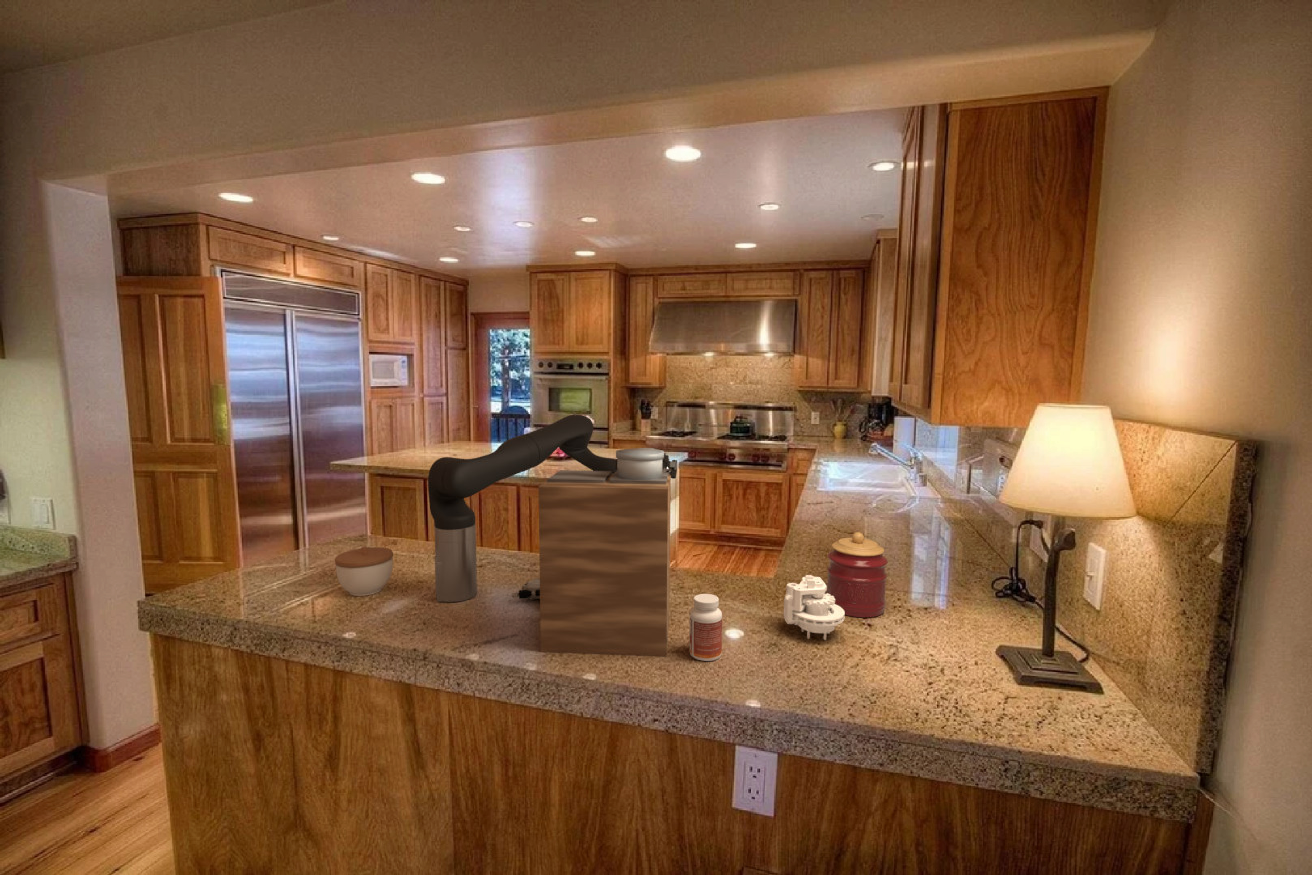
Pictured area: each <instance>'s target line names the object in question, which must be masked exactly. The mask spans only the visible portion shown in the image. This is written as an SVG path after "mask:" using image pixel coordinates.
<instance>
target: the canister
mask: <svg viewBox="0 0 1312 875" xmlns="http://www.w3.org/2000/svg"><path fill="white" fill-rule="evenodd" d="M831 548H832V550H831V551H829V552H828V553H827V559H829V565H828V566H827V583H826V585H827V590H826V592H825V594H827V593H828V594H830V595H831V596H833V597H834V598H835V603H834V604H836V605H838V606H840V607H841V608H842V609H843V610H844V612H845V615H844V616H848V617H853V618H874V617H878V616H881V615H883V614H884V612H885V608H886V603H887V602H886V587H887V586H886V584H887V577H888V576H887V574H888V573H887V572H886V565H888V563H889V561H888V558H886V557H885V556H884V555H883V554H884V553H885V549H884V548H883V547H882V546H881V545H879V544H878V543H877V542H876V541H874V540H871V539H869V538H865V536H864V534H863V533H862V532H857V531H856V532H854V533H853V534H852V536H851V537H842V538H840V539H838V540H837V541H835V542H833V543H832V544H831Z"/></svg>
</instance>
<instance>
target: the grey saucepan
mask: <svg viewBox="0 0 1312 875" xmlns="http://www.w3.org/2000/svg"><path fill="white" fill-rule="evenodd" d="M664 453H665V451H664V450H661V449H657V448H654V447H640V448H639V447H638V448H624V449H618V450H616V451H615V459H617V476H618V477H619V478H622V479H629V480H652V479H658V478H661V477H662V459H663V458H664Z"/></svg>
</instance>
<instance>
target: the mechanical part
mask: <svg viewBox="0 0 1312 875" xmlns="http://www.w3.org/2000/svg"><path fill="white" fill-rule="evenodd" d="M785 588H786V589H785V590H786V593H785V596H784V600H783V618H784V620H785V622H786V624H787V625H794V626H799V627H800V629H801V630H800V631H801V632H802V633H804V632H805V631H806V638H807V639H809V640H810V637H811V633H814V634H823V640H824V641H827V634H828V635H830V633H831V632H833V631H834V630H835V629H836V626H838V625H840V624H842V623H843V622H844V621H845V618H846V617H845V616H846V615H845V612H844V610H843V609H842V608H841V607H840V606H838V605H836V604H834V603H835V598H834V597H833V596H831V595H830V594H828V593H827V583H825V582H824V580H823V579H822V578H821V577H820V576H813V575H810V574H809V575H808V574H805V576H802V578H801V581H800V583H796V582H788V583H787V584H786V587H785ZM826 593H827V594H826Z"/></svg>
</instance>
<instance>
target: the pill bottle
mask: <svg viewBox="0 0 1312 875" xmlns="http://www.w3.org/2000/svg"><path fill="white" fill-rule="evenodd" d="M719 602H720V601H719V597H718V596H717V595H714V594H710V593H701V594H696V595H695V596H694V597H693V607H692V608H691V610H690V612H689V635H688V636H689V639H688V640H689V649H688V650H689V654H690V656H691V658H693V659H695V660H698V661H704V662H711V661H715V660H718V659H719V658H721V656H722V654H723V612H722V610H721V609H720V608H719V606H720V603H719Z"/></svg>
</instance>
